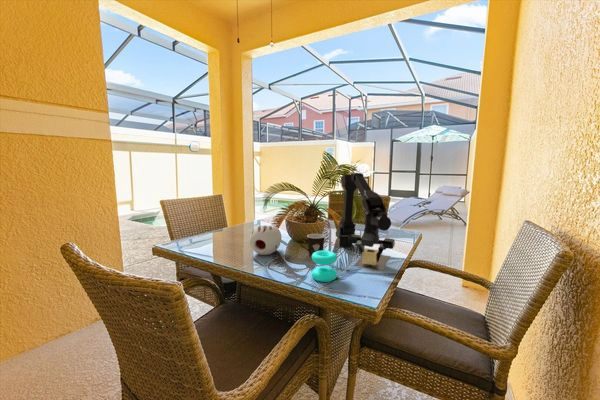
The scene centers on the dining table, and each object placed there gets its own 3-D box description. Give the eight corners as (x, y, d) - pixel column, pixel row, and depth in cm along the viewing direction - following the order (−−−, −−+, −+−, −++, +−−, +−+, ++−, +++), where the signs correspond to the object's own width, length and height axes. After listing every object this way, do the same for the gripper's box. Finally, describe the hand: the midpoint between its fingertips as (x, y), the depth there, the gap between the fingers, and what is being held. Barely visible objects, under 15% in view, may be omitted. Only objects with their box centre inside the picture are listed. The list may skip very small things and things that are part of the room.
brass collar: (376, 265, 116) (376, 254, 115) (361, 263, 118) (362, 252, 118) (379, 261, 121) (379, 250, 120) (365, 259, 124) (365, 248, 123)
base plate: (382, 274, 113) (382, 261, 112) (353, 269, 118) (353, 256, 118) (390, 259, 130) (391, 248, 130) (365, 255, 136) (365, 244, 135)
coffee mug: (326, 254, 137) (327, 234, 136) (320, 259, 130) (321, 239, 128) (305, 251, 142) (305, 232, 141) (298, 256, 135) (298, 236, 133)
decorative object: (287, 248, 147) (286, 221, 145) (274, 260, 129) (274, 229, 127) (260, 246, 151) (259, 219, 149) (244, 257, 133) (243, 227, 131)
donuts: (329, 248, 115) (342, 255, 106) (328, 271, 116) (341, 280, 107) (307, 251, 111) (318, 259, 102) (307, 275, 112) (318, 285, 103)
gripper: (344, 226, 115) (343, 262, 117) (391, 231, 106) (389, 270, 108) (352, 221, 124) (351, 255, 127) (395, 226, 116) (394, 261, 118)
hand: (370, 260), depth 120 cm, fingers closed on brass collar, 6 cm apart
